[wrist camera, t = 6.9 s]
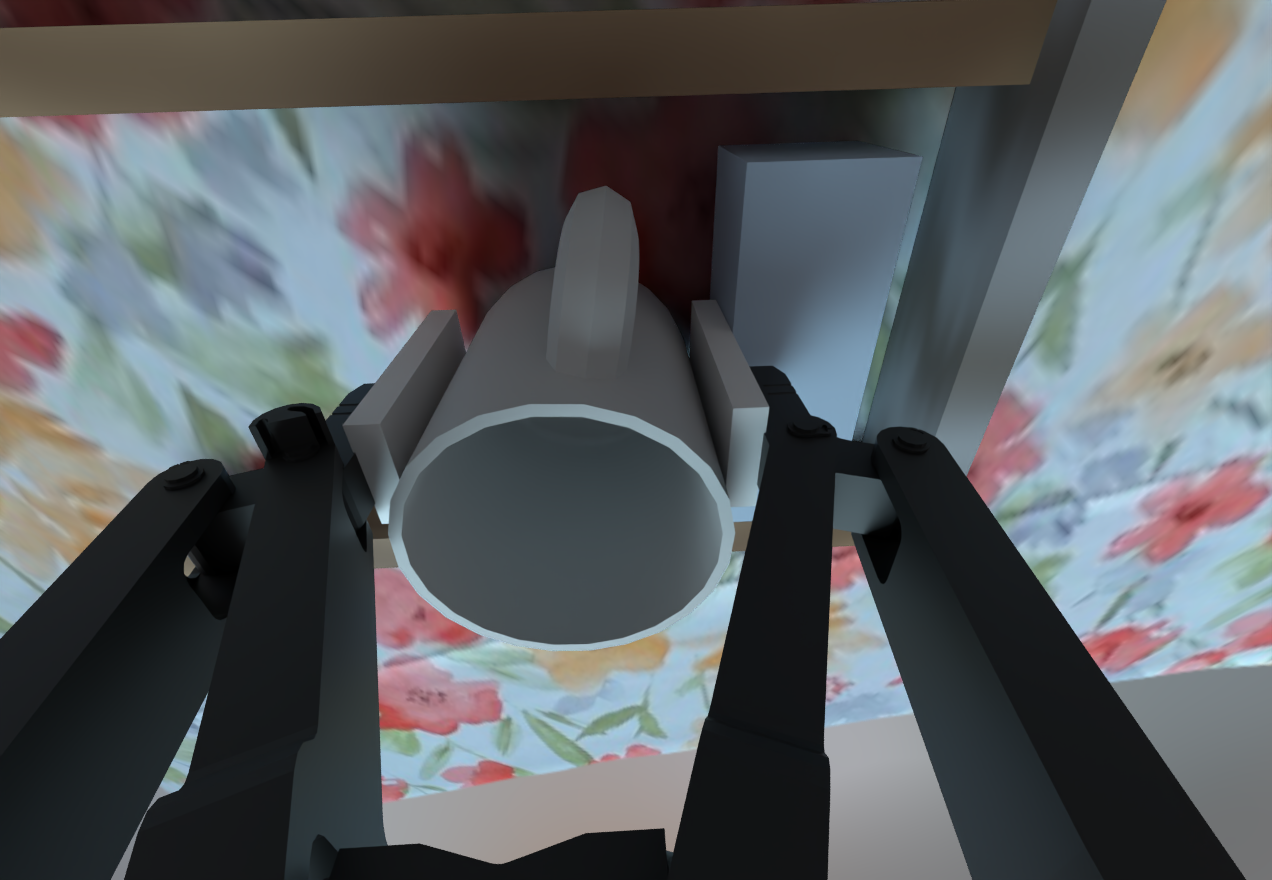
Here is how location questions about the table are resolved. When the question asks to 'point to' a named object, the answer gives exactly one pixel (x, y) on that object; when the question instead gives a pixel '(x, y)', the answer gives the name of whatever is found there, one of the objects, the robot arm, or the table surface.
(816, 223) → the block
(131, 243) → the table surface
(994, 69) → the channel
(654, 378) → the cup
